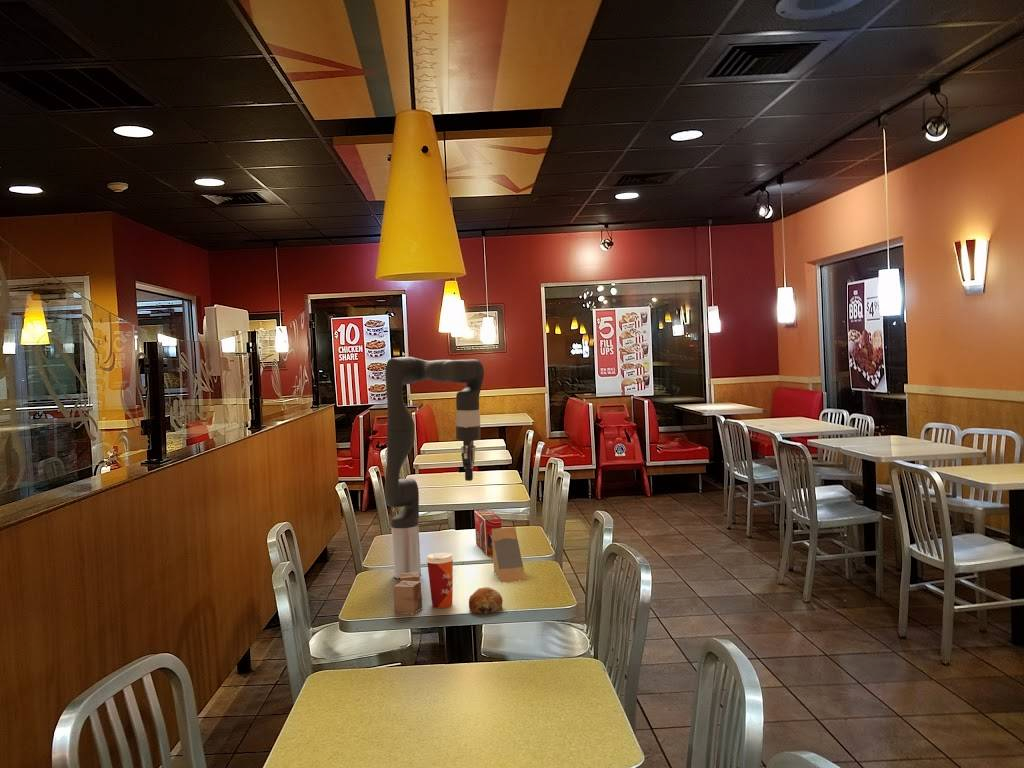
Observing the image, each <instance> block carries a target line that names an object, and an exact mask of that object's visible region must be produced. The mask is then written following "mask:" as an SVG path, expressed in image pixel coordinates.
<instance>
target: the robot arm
mask: <svg viewBox="0 0 1024 768" xmlns="http://www.w3.org/2000/svg"><path fill="white" fill-rule="evenodd" d="M384 372H385V374H384V375H385V389H386V401H387V404H386V405H387V418H386V419H387V421H386V422H387V424H386V451H387V452H386V467H385V468H386V469H385V479H384V499H385V503H386V505H387V507H388V508H400V507H403V509H402V510H401V511H400V512H399V513H398V514H397V515H395V516H393V517H392V518H391V519H390V525H391V543H392V544H391V545H392V562H393V563H392V564H393V577H394V578H395V579H399V578H400V573H409V572H419V574H420V576H421V575H422V571H421V569H422V567H421V549H420V534H419V533H420V527H419V517H420V499H419V498H420V496H419V495H420V493H419V492H420V491H419V485H418V483H417V481H416V479H414V478H412V477H408V478H407V477H406V478H401V479H400V474H401V473H400V472H401V468H402V467H403V464H404V462H405V461H406V458H407V457H408V455H409V454H410V452H411V450H412V448H413V447H414V444H415V428H416V427H415V420H414V418H413V416H412V415H411V412H410V411H409V409H408V408H407V405H406V403H405V401H404V396H403V395H404V394H403V386H405V385H412V384H415V383H418V382H422V381H428V380H430V381H431V382H432V381H433V382H436V383H453V384H454V383H455V384H456V383H459V384H464V383H465V387H464V388H463V389H462V390H459V391H457V392H456V396H455V397H456V398H455V400H456V401H455V404H456V405H455V406H456V407H455V409H456V412H455V439H456V440H457V441H460V442H463V444H462V446H461V447H460V448H461V451H460V452H461V455H460V456H461V461H462V466H463V468H464V480H465V481H467V482H471V481H472V480H473V479H474V476H473V475H474V470H473V469H474V467H475V460H476V445H475V444H474V441H479V440H481V414H480V413H481V412H480V394H481V390H482V385H483V382H484V377H485V369H484V365H483V363H482V362H481V361H480V360H479V359H475V358H474V359H470V358H469V359H435V360H425V359H421V358H417V357H414V356H399V357H392V358H390V359H388V360H387V362H386V365H385V371H384Z"/></svg>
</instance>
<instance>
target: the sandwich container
mask: <svg viewBox="0 0 1024 768" xmlns="http://www.w3.org/2000/svg"><path fill="white" fill-rule="evenodd" d="M492 546H493V555H492V559H493V561H492V562H493V572H494V574H495V573H496V574H495V576H496V575H497V576H498V577H497V576H496V577H497V578H498V580H499V579H500V580H501V581H500V580H499V581H500V583H502V582H506V583H512V582H511V581H517V582H520V581H519V580H525V581H527V576H526V572H525V568H524V564H523V563H524V562H523V559H522V554H521V549H520V545H519V539H518V533H517V528H516V526H512V527H511V526H510V527H509V526H508V527H502V528H495V529H492Z"/></svg>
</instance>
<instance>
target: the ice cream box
mask: <svg viewBox="0 0 1024 768" xmlns="http://www.w3.org/2000/svg"><path fill="white" fill-rule="evenodd" d="M474 525H475V526H474V528H475V529H474V530H475V543H476V544H477V545H476V544H475V545H476V546H477V547H478V548H479V549H480V550H481V551H482V552H483V554H484V555H485V556H493V546H492V529H495V528H503V527H502V518H501V517H500V516H499V515H497V513H495V512H494V511H493V510H491V509H482V510H474Z"/></svg>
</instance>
